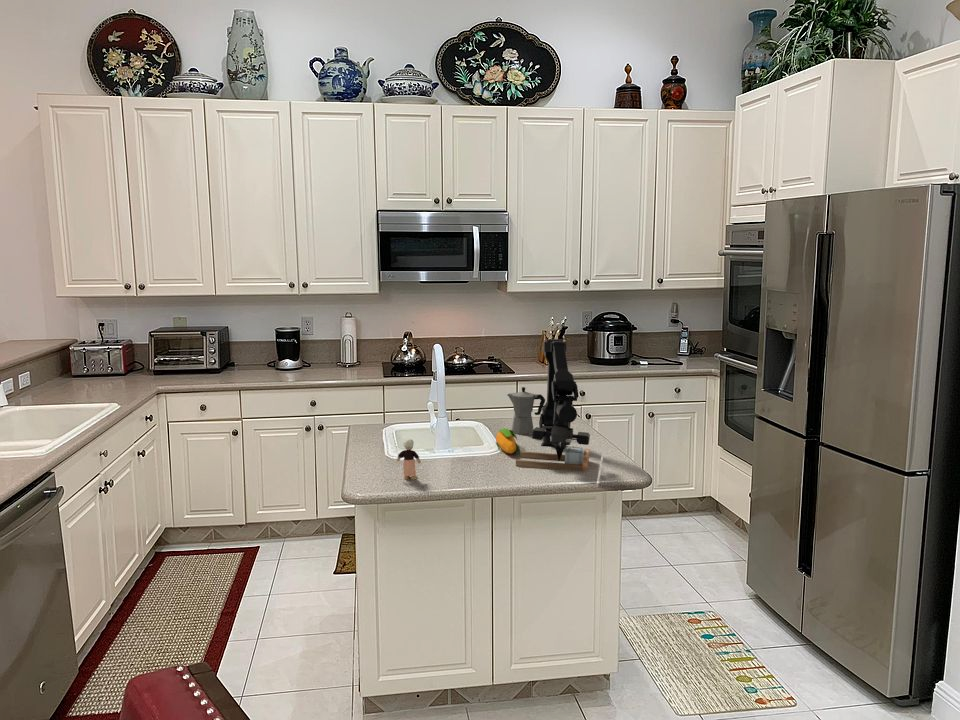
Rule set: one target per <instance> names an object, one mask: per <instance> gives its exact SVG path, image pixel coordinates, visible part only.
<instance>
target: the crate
mask: <svg viewBox="0 0 960 720" xmlns="http://www.w3.org/2000/svg"><path fill="white" fill-rule="evenodd" d="M585 449H586V448H583V447H580V448H579V447H570V446H569V447H567V446H566V449H565V452H564V454H565V460H564V463H566V464H579V465H583V457H584V453H585Z"/></svg>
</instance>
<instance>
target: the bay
mask: <svg viewBox="0 0 960 720" xmlns="http://www.w3.org/2000/svg"><path fill="white" fill-rule="evenodd" d="M584 449H585V453H584V457H583V465H579V464H566V463H565V462H564V463H563V462H552V461H551V462H550V461H549V462H548V461H538V460H537V461H536V460H523V459H524V458H526V459H541V460H554V461H558V456H557V453H550V452H537V451H535V452H534V451H520V458H523V459H516V460H515V467H524V468H540V469H549V470H562V471H563V470H565V471H577V472H578V471H580V472H588V466H589V461H590V448H584ZM560 461H565V453H562V455H561V458H560Z"/></svg>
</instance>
